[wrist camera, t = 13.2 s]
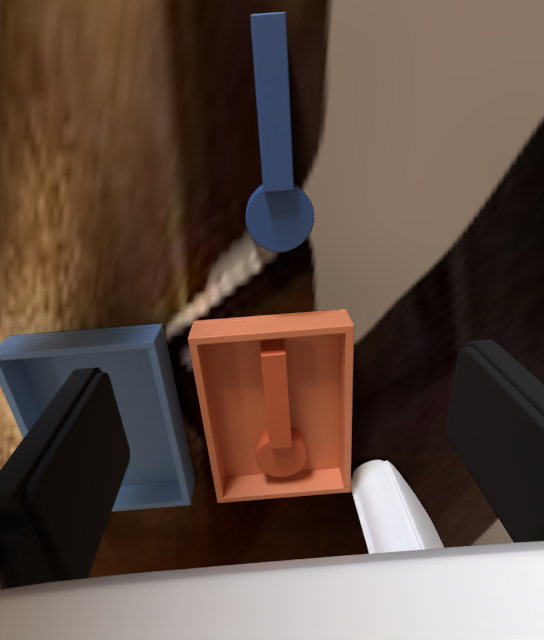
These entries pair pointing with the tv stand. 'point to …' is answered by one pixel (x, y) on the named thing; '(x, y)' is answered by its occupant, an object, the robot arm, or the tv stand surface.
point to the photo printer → (390, 511)
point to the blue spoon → (275, 144)
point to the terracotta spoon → (278, 417)
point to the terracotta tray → (249, 402)
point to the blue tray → (131, 396)
